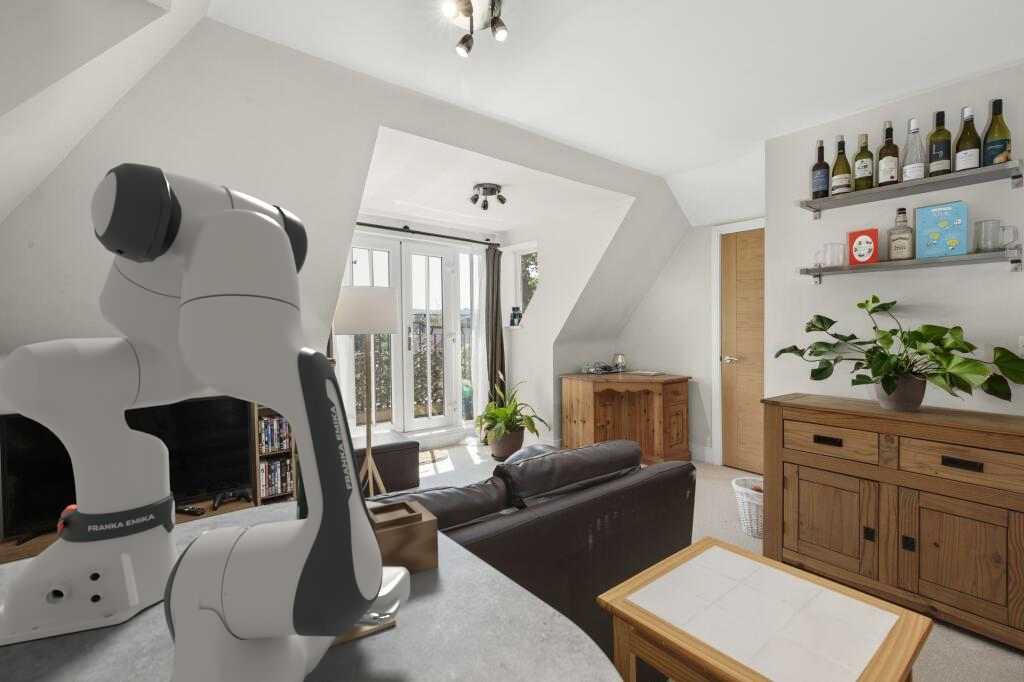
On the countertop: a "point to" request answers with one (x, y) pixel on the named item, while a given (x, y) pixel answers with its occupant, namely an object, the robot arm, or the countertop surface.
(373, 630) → the cork mat
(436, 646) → the countertop surface
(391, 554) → the walnut box
